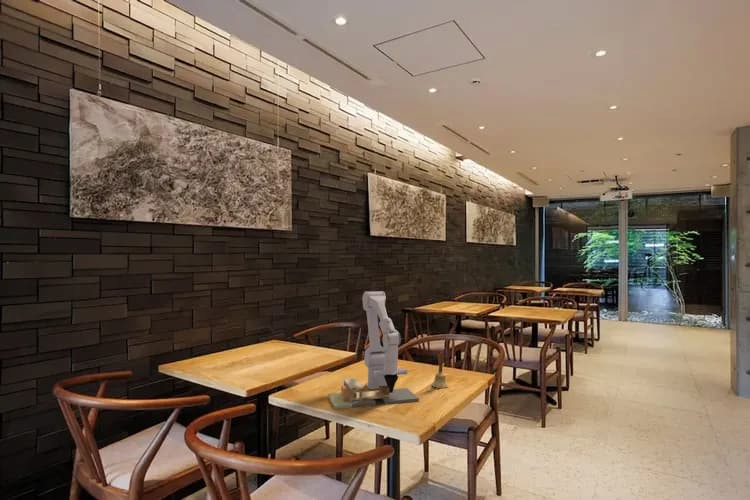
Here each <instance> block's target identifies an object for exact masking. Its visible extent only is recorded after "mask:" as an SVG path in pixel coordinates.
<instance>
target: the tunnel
mask: <svg viewBox="0 0 750 500" xmlns="http://www.w3.org/2000/svg"><path fill="white" fill-rule="evenodd" d="M343 385H347V386H348V387H349V388H350V403H353V389H354V390H355V392H357V391H356V390H359V391H358V392H359V402H360V403H362V392H363V391H364V390H363V386H362V385H361V383H360V382H359V381H358V380H357V379H356V378H347V379H346V378H345V379H343Z"/></svg>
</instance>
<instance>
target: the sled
mask: <svg viewBox="0 0 750 500" xmlns="http://www.w3.org/2000/svg"><path fill="white" fill-rule="evenodd" d="M378 390H379V391H376V390H372V391H371V390H369V391H367V392H364V391H362V400H365V399H377V398H389V397H390V395H389V387H388V386H387V385H379V389H378ZM356 392H357V393H356ZM340 397H341V398H342V400H343V401H350V398H343V397H342V395H341V394H340ZM354 400H359V391H355V390H354V397H353V401H354Z"/></svg>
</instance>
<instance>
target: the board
mask: <svg viewBox="0 0 750 500" xmlns="http://www.w3.org/2000/svg"><path fill="white" fill-rule="evenodd" d="M375 391H379V389H375ZM355 392H356V393H357V392H358V391H355ZM363 392H368V391H366V390H365V391H364V390H363ZM340 394H341V392H340V393H329V394H327V396H328V397H327V398H328V400H329V402H330V403H331V405H332V406H333V408H334V409H335V410H338V409H347V408H350V409H351V408H358V407H368V406H369V407H370V406H380V405H381V406H382V405H383V406H384V405H391V404H393V405H394V404H402V403H403V404H405V403H413V402H419V401H420V399H419V397H418V396H417V395H416V394H415V393H413V392H412V391H411V390H410V389H409V388H407V387H405V388H404V387H403V388H394V389H393V393H389V395H390V397H389V398H377V399H365V400H362V403H360V402H359V400H354V401H353V403H350V401H343V400H342V398H341V397H340Z"/></svg>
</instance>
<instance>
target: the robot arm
mask: <svg viewBox="0 0 750 500" xmlns="http://www.w3.org/2000/svg"><path fill="white" fill-rule="evenodd" d="M361 297H362V299H361V300H362V308H363V311H366V312H365V313H366V318H367V327H368V330H367V332H368V341H369V346H368V347H367V348H366V349H365V351H364V357H363V358H364V359H363V360H364V361H363V362H364V365H365V367H366V368H367V382H365V383H364V385H365V386H366V387H367V389H369V390H379V385H387V386H388V387H389V393H393V389H395V385H396V383H397V381H398V379H399V376H400V375H405V376H407V375H408V369H406V368H398V365H399V361H398V360H399V357H398V356H399V345H400V344H401V341H402V340H401V338H402V337H401V334H400V332H399V331H398V330H397V329H395V326H394V323H393V320H392V319H391V318H390V317H389V316H388V314H387V309H386V300H387V297H386V293H385V291H383V290H381V291H380V290H379V291H364V293H363V295H362V296H361ZM379 320H380V321H379ZM379 327H380V329H379ZM380 330H381V333H382V344H383V345H381V339H380ZM398 375H399V376H398Z"/></svg>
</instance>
